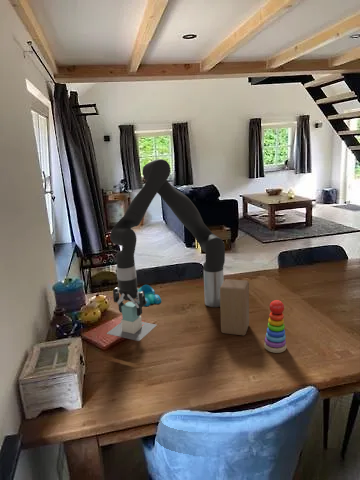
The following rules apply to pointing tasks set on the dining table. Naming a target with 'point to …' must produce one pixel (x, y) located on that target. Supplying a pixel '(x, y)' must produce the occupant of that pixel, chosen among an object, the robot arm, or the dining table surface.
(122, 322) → the cream brick
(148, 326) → the board
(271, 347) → the stacking toy
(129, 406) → the dining table surface
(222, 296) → the block
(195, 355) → the dining table surface
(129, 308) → the teal brick
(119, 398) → the dining table surface
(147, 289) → the toy car
